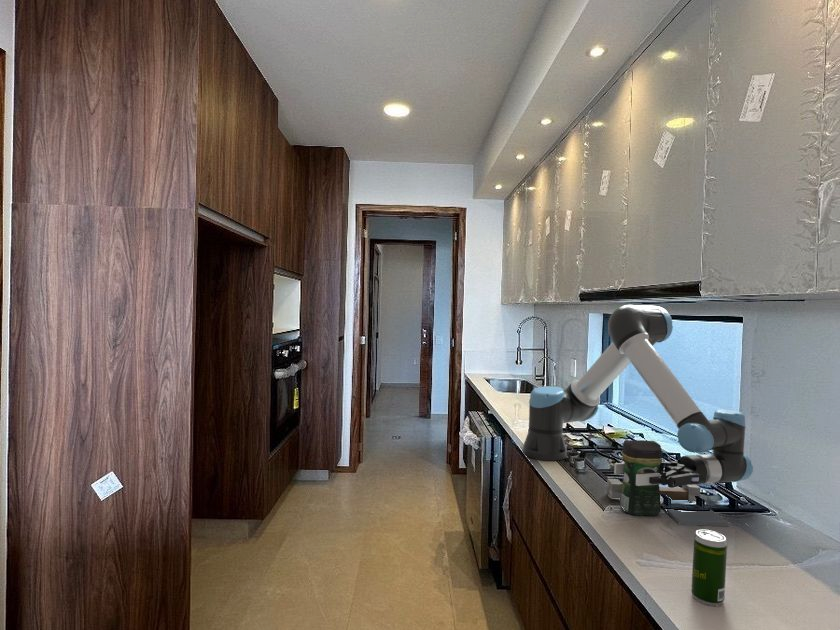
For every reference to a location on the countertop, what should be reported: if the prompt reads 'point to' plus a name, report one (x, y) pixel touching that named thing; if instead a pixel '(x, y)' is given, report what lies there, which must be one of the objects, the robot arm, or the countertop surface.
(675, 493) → the walnut handrail
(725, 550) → the beer can
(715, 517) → the slate end pad
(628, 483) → the coffee jar
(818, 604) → the countertop surface
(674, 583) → the countertop surface
